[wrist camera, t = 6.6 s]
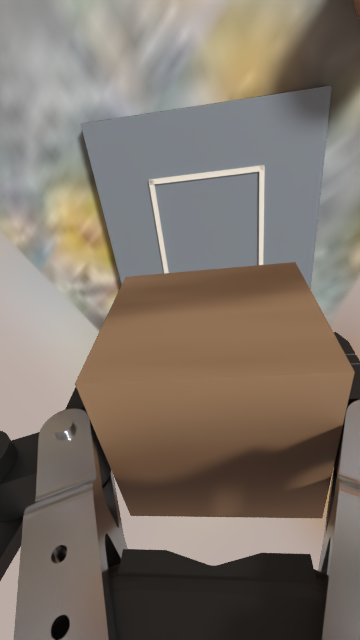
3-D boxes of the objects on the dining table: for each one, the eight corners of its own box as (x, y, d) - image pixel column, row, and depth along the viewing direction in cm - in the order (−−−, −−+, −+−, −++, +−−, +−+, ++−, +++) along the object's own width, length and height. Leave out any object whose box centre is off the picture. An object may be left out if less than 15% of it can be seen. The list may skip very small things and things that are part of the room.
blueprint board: (85, 123, 20) (79, 124, 19) (326, 86, 18) (332, 85, 17) (133, 314, 28) (130, 322, 27) (305, 302, 26) (308, 310, 25)
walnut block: (125, 276, 11) (74, 383, 7) (295, 261, 10) (354, 372, 6) (154, 392, 14) (130, 515, 10) (286, 387, 13) (322, 518, 9)
